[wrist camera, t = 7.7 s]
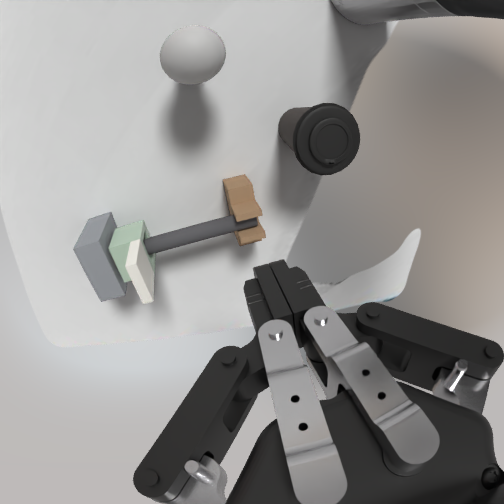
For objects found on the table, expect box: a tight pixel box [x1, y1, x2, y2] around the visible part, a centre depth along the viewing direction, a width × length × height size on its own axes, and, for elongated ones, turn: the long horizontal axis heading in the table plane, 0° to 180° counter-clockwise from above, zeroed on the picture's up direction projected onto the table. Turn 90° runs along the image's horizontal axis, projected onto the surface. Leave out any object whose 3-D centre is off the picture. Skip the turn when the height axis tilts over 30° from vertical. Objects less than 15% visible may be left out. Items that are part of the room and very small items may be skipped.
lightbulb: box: [160, 25, 226, 85], centre depth 25 cm, size 6×6×11 cm
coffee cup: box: [279, 103, 360, 175], centre depth 33 cm, size 8×8×10 cm
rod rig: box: [73, 174, 266, 302], centre depth 37 cm, size 23×8×8 cm, turn 99°
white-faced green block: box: [109, 220, 156, 304], centre depth 33 cm, size 4×5×10 cm
